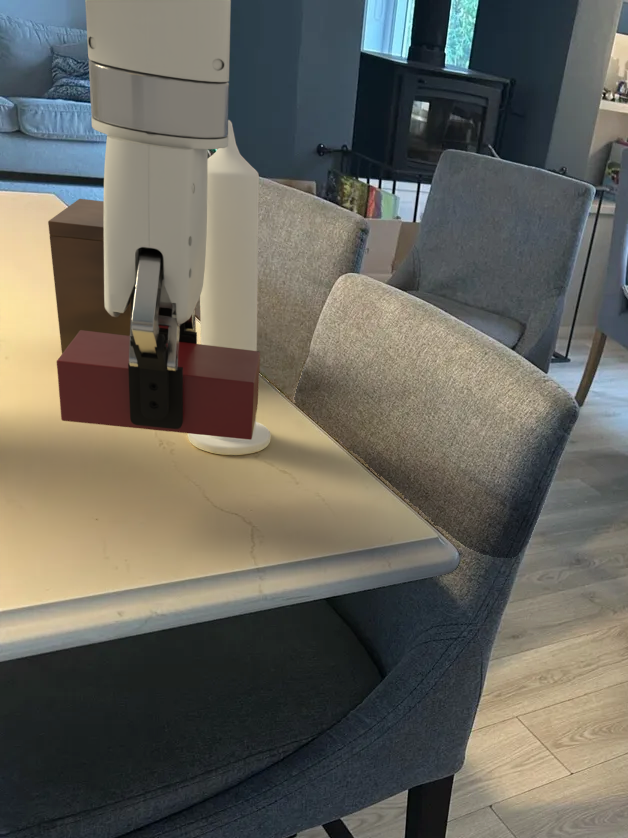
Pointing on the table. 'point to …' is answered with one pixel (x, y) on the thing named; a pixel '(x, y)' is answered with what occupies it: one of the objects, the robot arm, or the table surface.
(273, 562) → the table surface
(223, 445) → the candle
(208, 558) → the table surface
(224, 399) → the red rectangular block
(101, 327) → the brown rectangular block
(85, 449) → the table surface
